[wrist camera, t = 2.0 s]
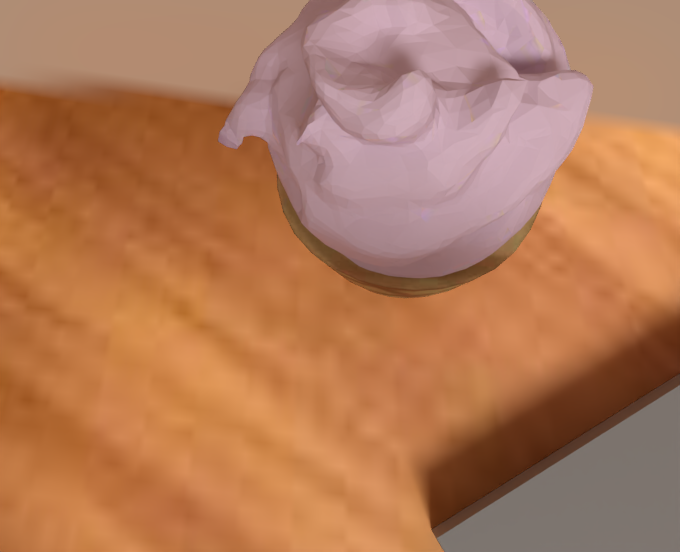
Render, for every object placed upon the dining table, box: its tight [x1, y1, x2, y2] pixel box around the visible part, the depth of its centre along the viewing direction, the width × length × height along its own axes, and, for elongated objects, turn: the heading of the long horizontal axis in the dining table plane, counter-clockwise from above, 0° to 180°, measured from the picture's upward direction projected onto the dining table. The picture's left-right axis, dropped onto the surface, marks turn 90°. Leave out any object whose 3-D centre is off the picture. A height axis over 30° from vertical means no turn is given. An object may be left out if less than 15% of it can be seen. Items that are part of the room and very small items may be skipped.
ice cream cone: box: [218, 0, 593, 298], centre depth 16 cm, size 7×6×15 cm
